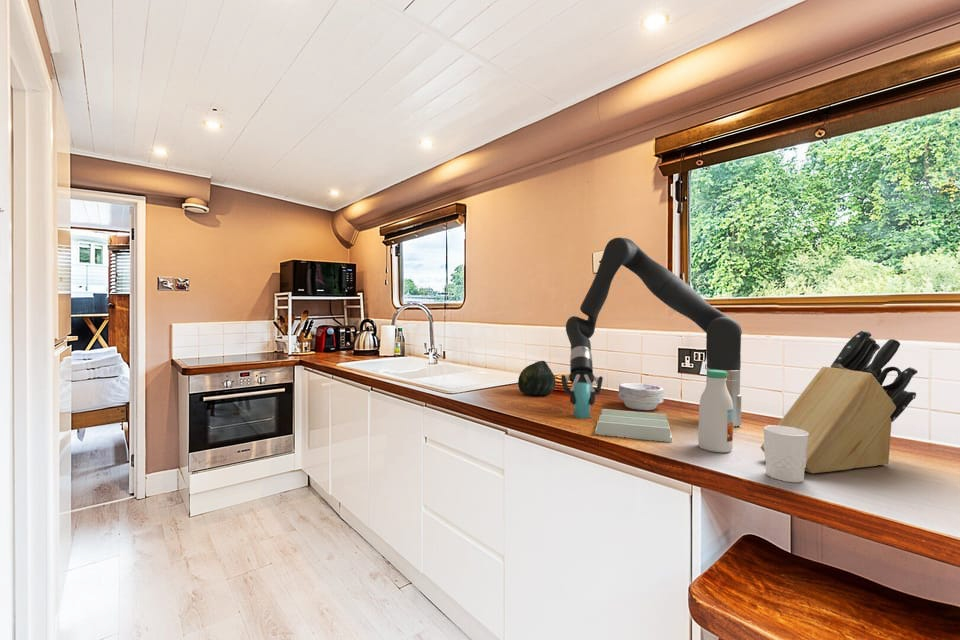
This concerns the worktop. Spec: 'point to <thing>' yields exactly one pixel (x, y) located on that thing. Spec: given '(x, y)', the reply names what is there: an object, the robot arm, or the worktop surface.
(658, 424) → the rack
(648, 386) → the paper bowls
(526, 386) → the squash
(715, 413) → the milk bottle
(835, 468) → the knife block
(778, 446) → the white cup
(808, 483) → the worktop surface
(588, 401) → the teal rounded upright block
